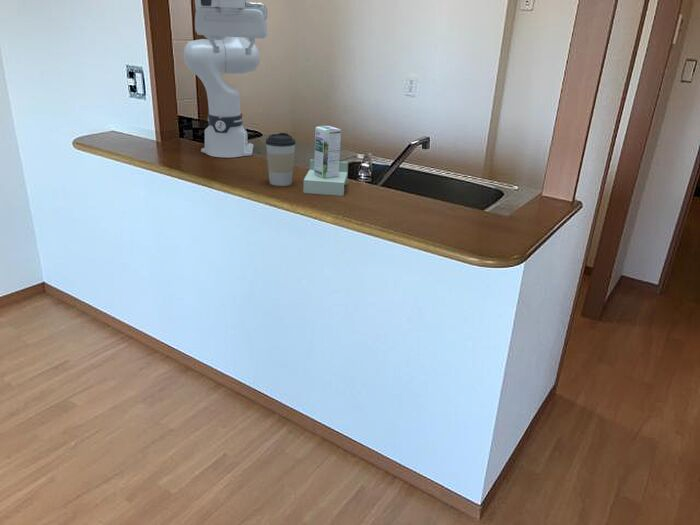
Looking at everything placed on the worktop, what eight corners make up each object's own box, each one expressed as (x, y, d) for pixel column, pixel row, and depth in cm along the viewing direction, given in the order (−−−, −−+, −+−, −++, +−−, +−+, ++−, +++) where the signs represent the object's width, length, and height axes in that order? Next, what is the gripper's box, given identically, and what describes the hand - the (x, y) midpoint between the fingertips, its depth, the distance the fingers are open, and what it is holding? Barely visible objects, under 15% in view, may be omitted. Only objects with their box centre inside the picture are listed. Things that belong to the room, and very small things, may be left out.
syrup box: (313, 174, 169) (314, 126, 163) (328, 171, 173) (330, 125, 167) (324, 178, 166) (325, 130, 159) (339, 176, 169) (341, 128, 163)
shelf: (309, 180, 177) (310, 159, 174) (347, 183, 176) (348, 162, 173) (303, 192, 165) (303, 170, 162) (343, 195, 165) (344, 173, 162)
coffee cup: (290, 188, 169) (290, 139, 162) (262, 185, 170) (261, 136, 164) (298, 180, 177) (299, 133, 170) (271, 177, 178) (271, 130, 172)
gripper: (269, 3, 156) (270, 55, 162) (198, -1, 158) (201, 51, 163) (264, 2, 151) (265, 56, 157) (191, -2, 152) (194, 52, 158)
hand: (232, 53), depth 160 cm, fingers open, 8 cm apart
